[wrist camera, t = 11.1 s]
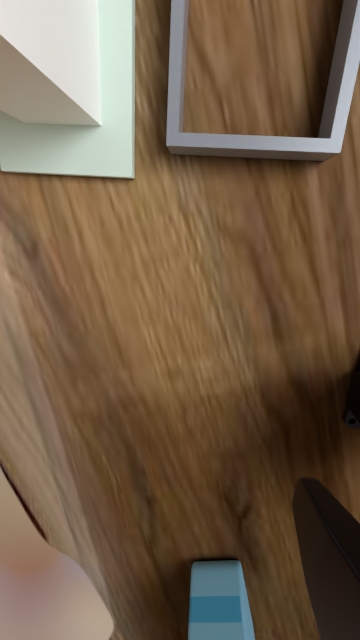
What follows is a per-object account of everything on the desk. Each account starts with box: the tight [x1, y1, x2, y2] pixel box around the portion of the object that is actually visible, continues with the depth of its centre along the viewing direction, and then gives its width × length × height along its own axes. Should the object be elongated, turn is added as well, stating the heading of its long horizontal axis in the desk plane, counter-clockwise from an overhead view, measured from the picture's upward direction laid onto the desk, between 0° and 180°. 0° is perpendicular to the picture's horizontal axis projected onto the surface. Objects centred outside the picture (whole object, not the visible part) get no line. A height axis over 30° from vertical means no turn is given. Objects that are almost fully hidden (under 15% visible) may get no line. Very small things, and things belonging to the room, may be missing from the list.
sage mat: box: [0, 0, 135, 179], centre depth 15 cm, size 8×13×1 cm, turn 177°
